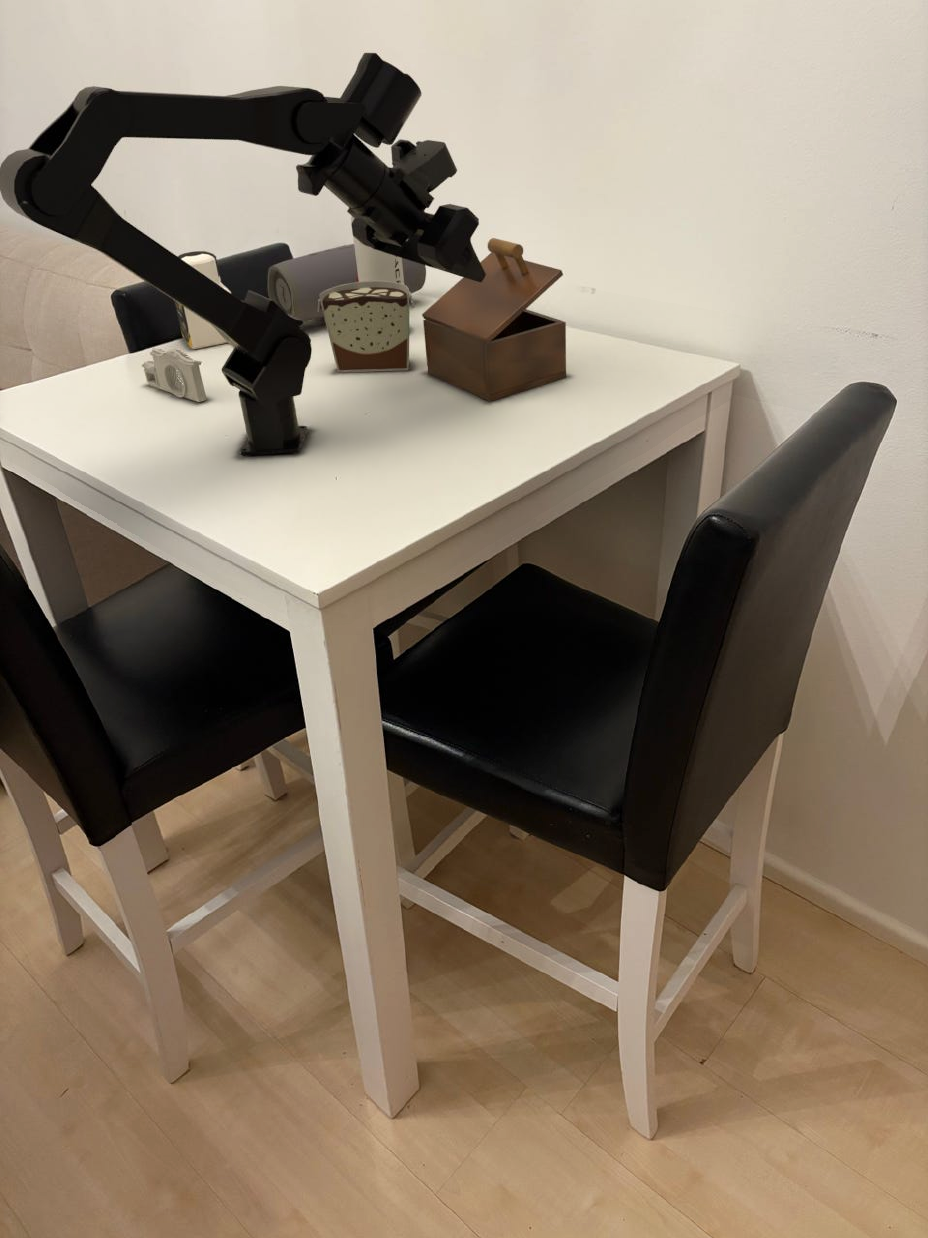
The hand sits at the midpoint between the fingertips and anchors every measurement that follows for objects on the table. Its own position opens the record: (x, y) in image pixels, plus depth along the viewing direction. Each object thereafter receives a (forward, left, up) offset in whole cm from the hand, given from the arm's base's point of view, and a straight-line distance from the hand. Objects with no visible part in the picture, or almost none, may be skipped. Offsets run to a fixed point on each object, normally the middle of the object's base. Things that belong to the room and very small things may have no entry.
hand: (459, 271), depth 112 cm
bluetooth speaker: (+33, +18, -14) cm, 40 cm away
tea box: (+3, -4, -13) cm, 14 cm away
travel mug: (+23, +12, -14) cm, 29 cm away
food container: (+10, +12, -14) cm, 21 cm away
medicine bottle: (+25, +38, -14) cm, 47 cm away
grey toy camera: (+3, +37, -14) cm, 40 cm away
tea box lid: (+3, -3, -4) cm, 6 cm away
